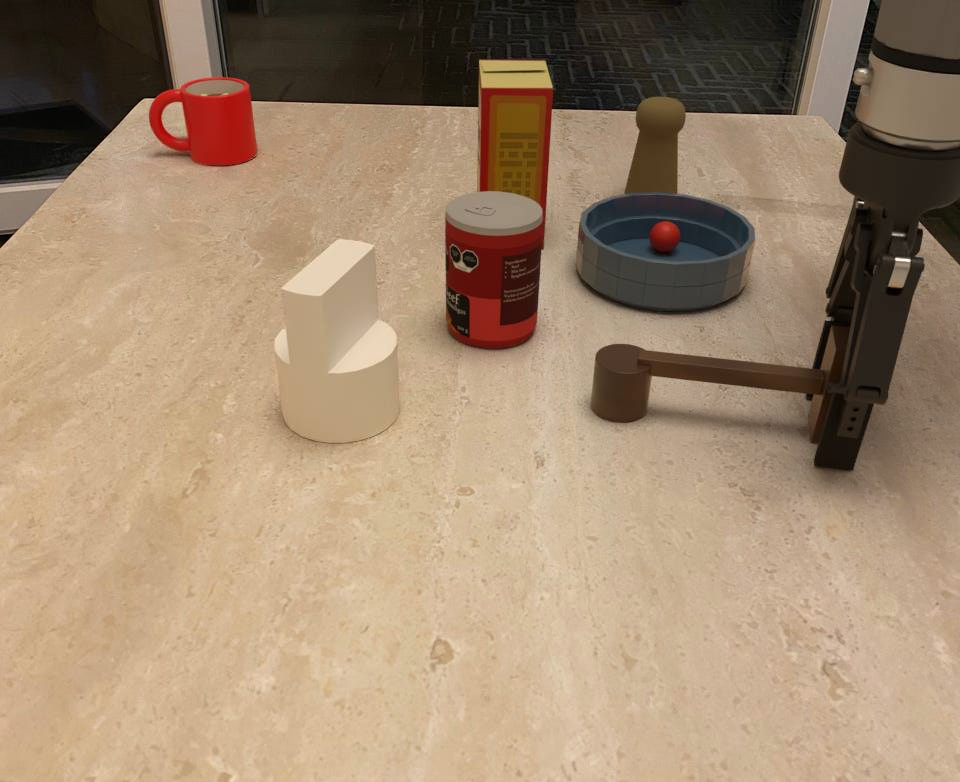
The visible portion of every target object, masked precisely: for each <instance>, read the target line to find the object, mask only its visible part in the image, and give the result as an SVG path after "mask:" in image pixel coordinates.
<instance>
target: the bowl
mask: <svg viewBox="0 0 960 782" xmlns="http://www.w3.org/2000/svg"><path fill="white" fill-rule="evenodd" d="M663 221H668V222H671V223H673V224H675V225H676V226H677V227H678V229H679V231H680V241H679V244H678V245H677V247H676V248H675V249H674V250H672V251H670V252H666V253H662V252H658V251H657V250H655V249H654V248H653V247H652V245H651V243H650V240H649V235H650V232H651V230H652V228H653V227H654V226H655V225H656V224H658V223H660V222H663ZM576 243H577V245H576V255H575V256H576V257H575V267H576V270H577V272H578V274H579V276H580V279H582V280H583V282H584V283H586V284H587V285H589V286H590V287H591V288H592V289H593V290H595V291H596V292H597V293H599V294H600V295H602V296H604V297H606V298H607V299H610V300H612V301H614V302H617V303H620V304H623V305H626V306H630V307H634V308H639V309H643V310H650V311H658V312H659V311H660V312H689V311H691V312H692V311H699V310H701V309H703V310H704V309H707V308H712V307H715V306H717V305H719V304H722V303H724V302H726V301H727V300H729V299H731V298H733V297H736V296H737V295H739V294H740V293H741V291H742V290H743V288H744V287H745V286H746V284H748V279H749V274H750V268H751V263H752V258H753V254H754V249H755V245H756V244H755V243H756V229H755V227H754V226H753V224H752V223H751V222H750V221H749V219H748V218H747V217H746V216H745V215H743V214H741V213H740V212H737V211H736V210H735V209H733V208H731V207H729V206H726V205H724V204H722V203H719V202H717V201H713V200H711V199H707V198H703V197H697V196H693V195H690V194H689V195H688V194H683V193H677V194H674V193H663V192H644V193H629V194H624V193H623V194H618V195H611V196H608V197H606V198H603V199H600V200H599V201H595V202H593V203H591V205H589V206H588V207H587V208H586V209H584V210H583V211H582V212H581V215H580V219H579V222H578V232H577V242H576Z"/></svg>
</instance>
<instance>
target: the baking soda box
mask: <svg viewBox="0 0 960 782" xmlns="http://www.w3.org/2000/svg"><path fill="white" fill-rule="evenodd" d="M477 98H478V101H477V103H478V105H477V107H478V108H477V117H478V118H477V162H476V163H477V164H476V165H477V167H476V168H477V169H476V172H477V173H476V176H477V178H476V192H485V191H498V192H508V193H513V194H518V195H521V196H524V197H527V198H530V199H532V200H533V201H535V202H537V203H538V204H539V205H540V206H541V208H542V212H543V214H542V215H543V228H542V229H543V233H542V249H541V250H544V249H545V233H546V232H545V231H546V218H547V201H548V184H549V169H550V167H549V166H550V150H551V135H552V133H551V132H552V117H553V116H552V115H553V114H552V113H553V103H554V101H553V100H554V87H553V83H552V79H551V77H550V73H549V69H548V65H547V61H546V59H487V58H486V59H481V58H480V59H478V97H477Z"/></svg>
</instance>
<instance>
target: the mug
mask: <svg viewBox="0 0 960 782" xmlns="http://www.w3.org/2000/svg"><path fill="white" fill-rule="evenodd" d="M251 95H252V94H251V87H250V84H249V83H248V82H247V81H245V80H243V79H240V78H236V77H225V76H215V77H213V76H212V77H211V76H210V77H203V78H197V79H193V80H191V81H188V82H185V83H184V84H182V85H181V86H180V88H174V89H173V88H172V89H168V90H165V91H162V92H161V93H160V94H158V95H157V96H156V97H155V98H154V99H153V101H152V102H151V105H150V107H149V110H148V121H149V126H150V129H151V131H152V132H153V134H154V136H155V137H156V138H157V140H158V141H159V142H160V143H162V145H164V146H165V147H167V148H169V149H170V150H171V149H172V150H174V151H178V152H189V155H190V159H191V158H192V159H193V160H194V161H193V160H192V159H191V160H192V161H193V162H195V163H197V162H198V163H197V164H199V163H201V164H200V165H203V164H206V165H205V166H208V165H230V166H232V165H231V164H237V165H239V164H238V163H241V164H243V163H242V162H245V161H248V160H249V159H251V158H253V157H254V156H255V155H256V154H257V152H258V145H257V144H258V143H257V138H256V129H255V119H254V112H253V105H252V104H253V102H252V96H251ZM174 103H181V106H182V112H183V118H184V123H185V130H186V137H187V138H179V137H176V136H174V135H173V134H171V133H170V132H169V131H168V130H167V129H166V128H165V126H164V123H163V112H164V110H165V109H166V108H167V107H168V106H169V105H171V104H174ZM257 155H258V154H257ZM253 159H254V158H253ZM248 162H249V161H248ZM245 163H246V162H245Z"/></svg>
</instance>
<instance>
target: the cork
mask: <svg viewBox="0 0 960 782" xmlns="http://www.w3.org/2000/svg"><path fill="white" fill-rule="evenodd" d="M636 108H637V109H636V112H635V124H636V127H637V129H638V135H637V138H636V144H635V148H634V152H633V156H632V159H631V163H630V168H629V172H628V177H627V180H626V184H625V189H624V193H623V194H629V193H644V192H663V193H674V194H678V176H679V175H678V174H679V173H678V172H679V171H678V169H679V167H678V165H679V163H678V161H679V159H678V158H679V153H678V152H679V133H680V132H681V131H682V130H683V128H684V126H685V123H686V118H687V117H686V116H687V115H686V114H687V113H686V108H685V106H684V104H683V103H682V102H681V101H680V100H678V99H676V98H672V97H667V96H651V97H650V96H649V97H648V98H645V99H643V100H642V101H641V102H640V104H639V105H637V107H636Z"/></svg>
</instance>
